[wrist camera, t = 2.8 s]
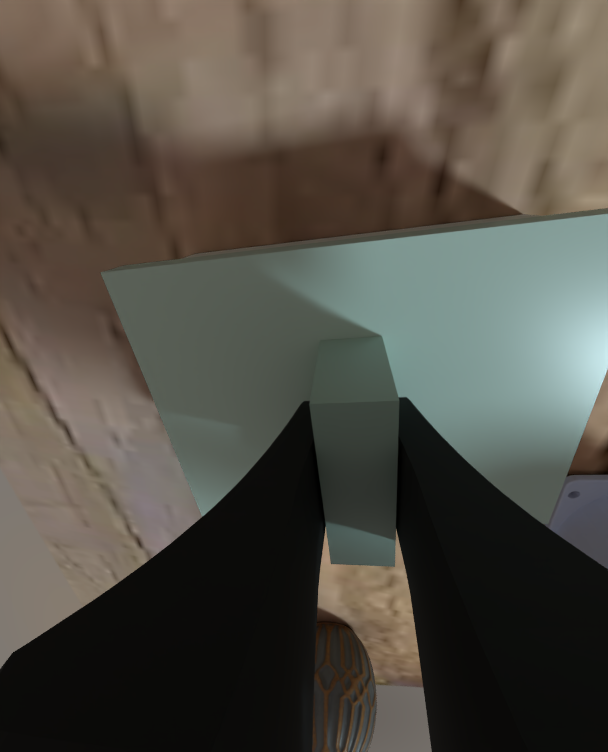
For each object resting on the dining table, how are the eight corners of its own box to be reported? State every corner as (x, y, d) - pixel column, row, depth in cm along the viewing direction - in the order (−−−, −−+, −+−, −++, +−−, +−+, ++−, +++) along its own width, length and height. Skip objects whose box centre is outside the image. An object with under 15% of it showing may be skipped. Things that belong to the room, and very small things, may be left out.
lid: (525, 486, 12) (612, 627, 8) (216, 485, 14) (165, 598, 10) (610, 204, 8) (904, 213, 4) (135, 261, 10) (-14, 307, 6)
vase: (343, 659, 29) (342, 821, 22) (277, 632, 28) (252, 794, 20) (389, 633, 26) (408, 815, 18) (317, 602, 25) (304, 781, 17)
